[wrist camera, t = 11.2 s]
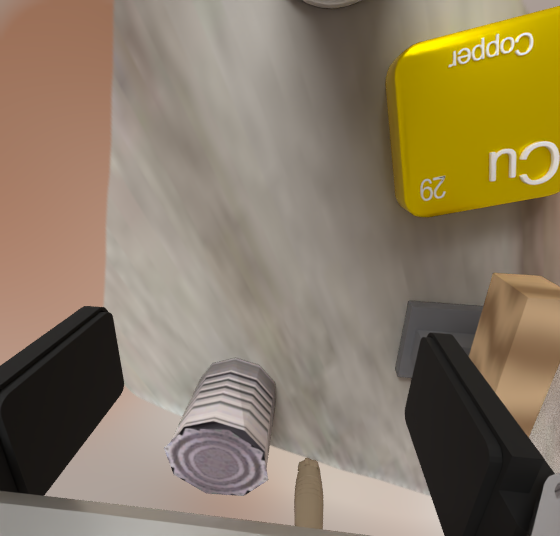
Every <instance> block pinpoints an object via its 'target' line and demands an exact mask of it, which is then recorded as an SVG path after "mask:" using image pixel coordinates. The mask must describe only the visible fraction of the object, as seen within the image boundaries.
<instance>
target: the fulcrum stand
mask: <svg viewBox="0 0 560 536" xmlns="http://www.w3.org/2000/svg"><path fill="white" fill-rule="evenodd" d="M482 310H483V306H474V305H459V304H445V303H431V302H417V301H409V302H408V307H407V312H406V317H405V322H404V327H403V332H402V337H401V342H400V347H399V352H398V357H397V362H396V367H395V370H396V373H397V376H398V377H407V378H412V376H413V371H414V367H415V362H416V358H417V353H418V349H419V344H420V340H421V338H422V337H427V335H428V334H429V333H430V332H431V333H444V334H452V335H453V336H454V338H455V339H456V340H457V342H458V343H459V344H460V346H461V347H462V348H463V350H464V351H465V352H466V354H467V355H468V356H469V354H470V351H471V347H472V344H473V340H474V337H475V333H476V330H477V327H478V323H479V320H480V316H481V313H482Z"/></svg>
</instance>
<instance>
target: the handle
mask: <svg viewBox="0 0 560 536" xmlns="http://www.w3.org/2000/svg"><path fill="white" fill-rule="evenodd" d="M298 471H299V472H298V475H297V479H296V486H295V487H296V488H295V501H294V505H295V506H294V508H295V509H294V510H295V511H294V512H295V526H298V527H306V528H314V529H322V528H323V489H322V481H321V476H320V469H319V466H318V462H317V461H316V460H311V459H309V458H305V460H304V461H302V462H299V465H298ZM322 530H323V529H322Z"/></svg>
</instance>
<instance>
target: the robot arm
mask: <svg viewBox="0 0 560 536" xmlns="http://www.w3.org/2000/svg"><path fill="white" fill-rule="evenodd" d="M302 1H304V2H306V3H308V4H311V5H314V6H317V7H321V8H339V7H345V6H349V5H351V4H354V3H356V2H359V1H361V0H302ZM123 387H124V379H123V374H122V368H121V362H120V356H119V350H118V344H117V338H116V332H115V326H114V321H113V316H112V314H111V313H109V312H108V311H107V309H106V308H104V307H91V306H84V307H82V308H81V309H79V310H78V311H76V312H75V313H74V314H72V315H71V316H70V317H68V318H67V319H65V320H64V321H63V322H61V323H60V324H58V325H57V326H55V327H54V328H53V329H51V330H50V331H48V332H47V333H46V334H44V335H43V336H41V337H40V338H39V339H37V340H36V341H34V342H33V343H32V344H30V345H29V346H27V347H26V348H25V349H23V350H22V351H21V352H19V353H18V354H16V355H15V356H14V357H12V358H11V359H9V360H8V361H6V362H5V363H4V364H2V365H1V366H0V536H368V535H361V534H353V533H345V532H338V531H330V530H322V529H314V528H306V527H298V526H291V525H283V524H275V523H267V522H259V521H251V520H243V519H235V518H225V517H218V516H210V515H202V514H194V513H185V512H177V511H168V510H160V509H152V508H144V507H135V506H127V505H119V504H110V503H100V502H93V501H84V500H75V499H67V498H58V497H48V496H44V495H45V493H46V492H47V491H48V490H49V489H50V487H51V486H52V485H53V483H54V482H55V480H56V479H57V478H58V477H59V475H60V474H61V473H62V471H63V470H64V469H65V467H66V466H67V465H68V463H69V462H70V461H71V460H72V458H73V457H74V455H75V454H76V453H77V452H78V450H79V449H80V448H81V446H82V445H83V444H84V442H85V441H86V440H87V438H88V437H89V436H90V434H91V433H92V432H93V431H94V429H95V428H96V426H97V425H98V424H99V423H100V421H101V420H102V419H103V417H104V416H105V415H106V413H107V412H108V411H109V409H110V408H111V407H112V406H113V404H114V403H115V402H116V400H117V399H118V398H119V396H120V395H121V393H122V391H123ZM405 420H406V424H407V427H408V430H409V433H410V436H411V439H412V441H413V444H414V447H415V450H416V453H417V456H418V459H419V462H420V465H421V468H422V471H423V474H424V477H425V480H426V483H427V486H428V488H429V491H430V494H431V497H432V500H433V503H434V506H435V509H436V512H437V515H438V517H439V520H440V524H441V526H442V529H443V532H444V535H445V536H560V473H556V474H555V473H554V472H553V471H552V469H551V468H550V467H549V465H548V464H547V462H546V461H545V459H544V458H543V457H542V455H541V454H540V452H539V451H538V450H537V448H536V447H535V446H534V444H533V443H532V442H531V440H530V439H529V438H528V436H527V435H526V434H525V432H524V431H523V429H522V428H521V427H520V425H519V424H518V423H517V421H516V420H515V419H514V417H513V416H512V415H511V413H510V412H509V411H508V409H507V408H506V407H505V405H504V404H503V402H502V401H501V400H500V398H499V397H498V396H497V394H496V393H495V392H494V390H493V389H492V388H491V386H490V385H489V384H488V382H487V381H486V379H485V378H484V377H483V375H482V374H481V373H480V371H479V370H478V369H477V367H476V366H475V365H474V363H473V362H472V361H471V359H470V358H469V356H468V355H467V354H466V352H465V351H464V350H463V348H462V347H461V346H460V344H459V343H458V342H457V340H456V339H455V338H454V336H453V335H452V334H444V333H431V332H430V333H429V334H428V335H427V337H422V338H421V340H420V344H419V349H418V353H417V358H416V362H415V367H414V371H413V376H412V380H411V385H410V389H409V394H408V398H407V402H406V407H405Z"/></svg>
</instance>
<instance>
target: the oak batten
mask: <svg viewBox="0 0 560 536" xmlns="http://www.w3.org/2000/svg"><path fill="white" fill-rule="evenodd" d="M469 358H470V359H471V361H472V362H473V363H474V365H475V366H476V367H477V369H478V370H479V371H480V373H481V374H482V375H483V377H484V378H485V379H486V381H487V382H488V384H489V385H490V386H491V388H492V389H493V390H494V392H495V393H496V394H497V396H498V397H499V398H500V400H501V401H502V402H503V404H504V405H505V407H506V408H507V409H508V411H509V412H510V413H511V415H512V416H513V417H514V419H515V420H516V421H517V423H518V424H519V425H520V427H521V428H522V429H523V431H524V432H525V434H526V435H527V436H528V438H529V435H530V433H531V430H532V428H533V426H534V423H535V421H536V418H537V416H538V414H539V411H540V409H541V406H542V404H543V402H544V399H545V397H546V394H547V392H548V390H549V387H550V385H551V382H552V380H553V378H554V375H555V373H556V370H557V368H558V366H559V363H560V287H559V286H557V285H555V284H554V283H552V282H550V281H548V280H547V279H545V278H543V277H542V276H533V275H518V274H502V273H493V275H492V279H491V282H490V286H489V289H488V292H487V296H486V299H485V303H484V306H483V310H482V313H481V316H480V320H479V323H478V327H477V330H476V333H475V337H474V340H473V344H472V347H471V351H470V354H469Z"/></svg>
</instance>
